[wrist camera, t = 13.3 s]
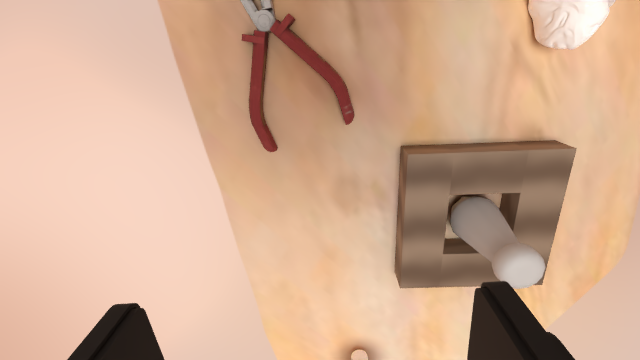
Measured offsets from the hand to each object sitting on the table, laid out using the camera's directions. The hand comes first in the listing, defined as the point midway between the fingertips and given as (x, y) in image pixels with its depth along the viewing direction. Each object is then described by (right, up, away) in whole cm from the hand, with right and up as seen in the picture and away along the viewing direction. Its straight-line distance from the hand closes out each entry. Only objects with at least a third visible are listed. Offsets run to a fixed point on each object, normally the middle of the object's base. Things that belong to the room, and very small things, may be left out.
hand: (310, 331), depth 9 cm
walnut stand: (+19, 0, +32) cm, 38 cm away
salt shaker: (+19, 0, +32) cm, 38 cm away
